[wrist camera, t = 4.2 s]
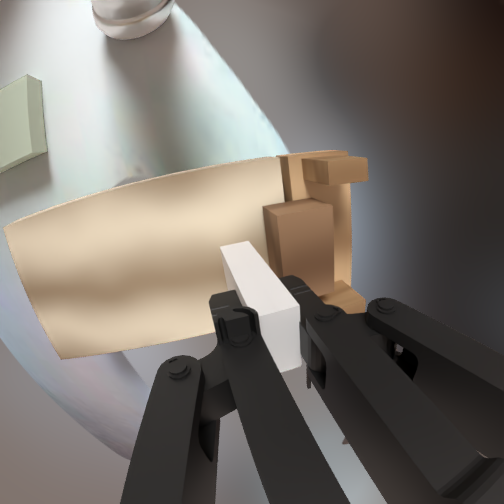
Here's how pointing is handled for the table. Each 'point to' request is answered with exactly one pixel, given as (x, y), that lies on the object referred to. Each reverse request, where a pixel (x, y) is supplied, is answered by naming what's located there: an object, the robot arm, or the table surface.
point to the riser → (21, 122)
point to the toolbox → (338, 195)
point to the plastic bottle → (130, 16)
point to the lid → (141, 255)
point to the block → (302, 242)
